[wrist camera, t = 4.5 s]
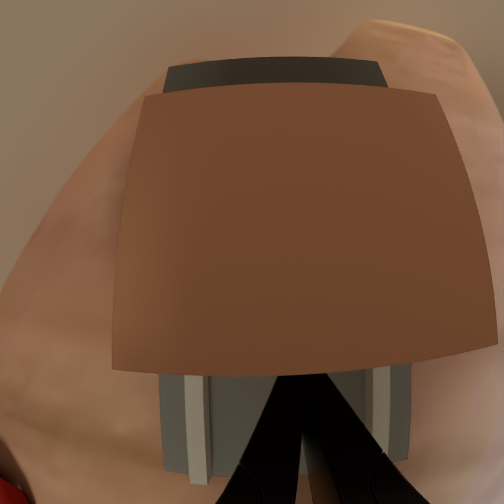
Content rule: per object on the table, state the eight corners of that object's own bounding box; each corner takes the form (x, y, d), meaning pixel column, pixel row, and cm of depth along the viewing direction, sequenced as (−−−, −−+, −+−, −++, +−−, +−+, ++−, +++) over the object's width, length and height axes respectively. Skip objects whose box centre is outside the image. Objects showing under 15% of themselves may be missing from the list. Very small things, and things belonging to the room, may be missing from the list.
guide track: (397, 451, 13) (455, 494, 7) (173, 461, 14) (122, 513, 7) (363, 123, 19) (388, 50, 12) (182, 129, 19) (153, 56, 13)
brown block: (353, 348, 13) (497, 343, 4) (220, 353, 14) (112, 369, 4) (345, 242, 15) (435, 94, 5) (219, 246, 15) (144, 96, 5)
